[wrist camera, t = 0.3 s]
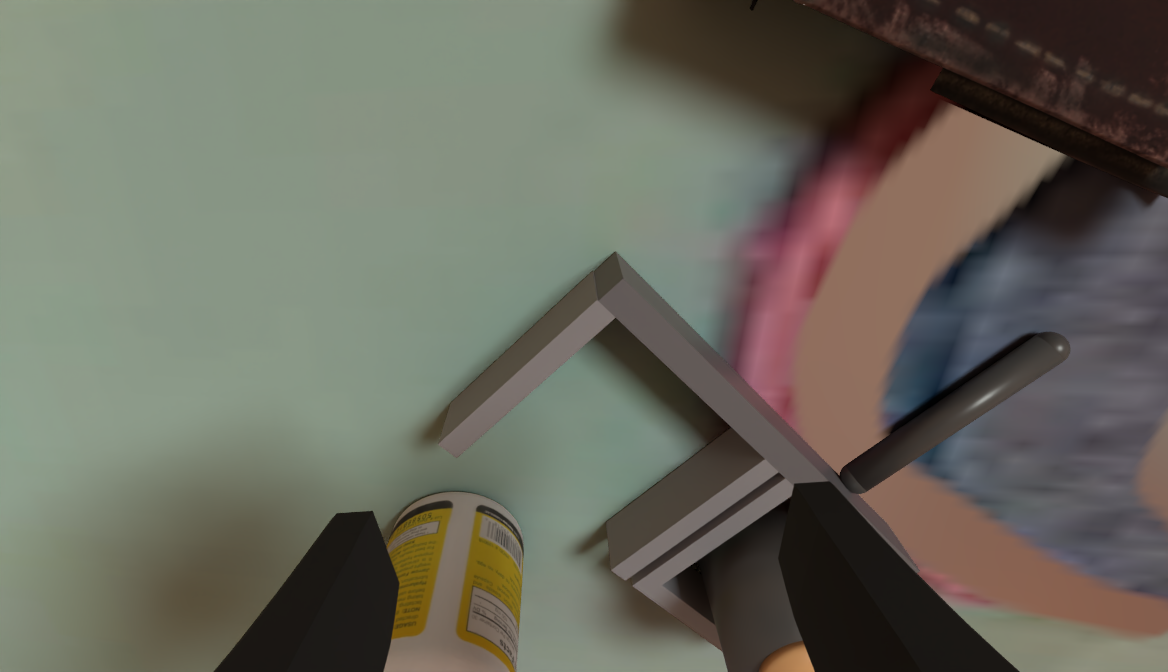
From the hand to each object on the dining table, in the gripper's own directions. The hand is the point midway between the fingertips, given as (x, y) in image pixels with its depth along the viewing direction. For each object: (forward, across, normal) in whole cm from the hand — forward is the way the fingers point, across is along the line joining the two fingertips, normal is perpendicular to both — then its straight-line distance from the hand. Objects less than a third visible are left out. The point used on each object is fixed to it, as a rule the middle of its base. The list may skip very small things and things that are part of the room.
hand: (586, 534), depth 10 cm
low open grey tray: (+10, -7, +6) cm, 14 cm away
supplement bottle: (+9, +5, +12) cm, 16 cm away
